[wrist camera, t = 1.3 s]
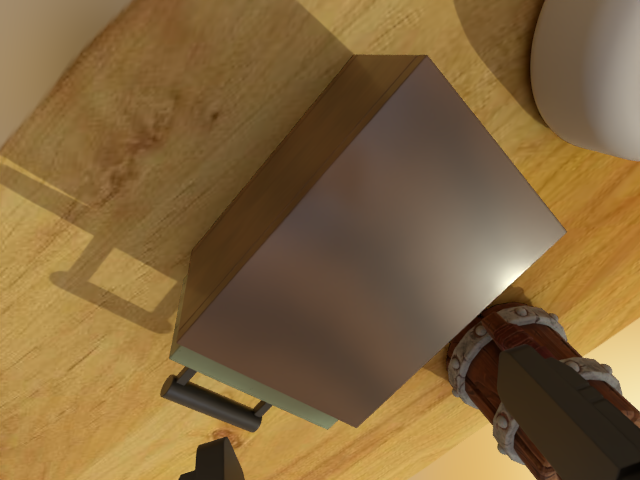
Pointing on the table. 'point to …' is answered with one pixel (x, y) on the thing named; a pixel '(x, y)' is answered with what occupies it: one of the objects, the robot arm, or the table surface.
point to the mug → (482, 371)
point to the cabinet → (363, 241)
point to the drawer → (220, 405)
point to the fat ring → (589, 73)
